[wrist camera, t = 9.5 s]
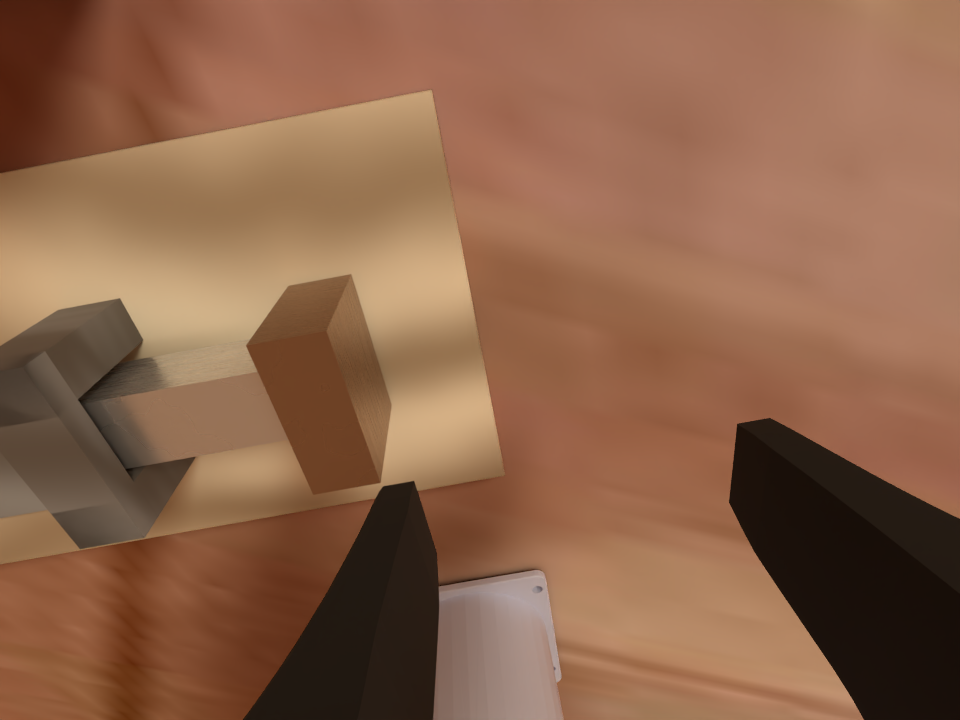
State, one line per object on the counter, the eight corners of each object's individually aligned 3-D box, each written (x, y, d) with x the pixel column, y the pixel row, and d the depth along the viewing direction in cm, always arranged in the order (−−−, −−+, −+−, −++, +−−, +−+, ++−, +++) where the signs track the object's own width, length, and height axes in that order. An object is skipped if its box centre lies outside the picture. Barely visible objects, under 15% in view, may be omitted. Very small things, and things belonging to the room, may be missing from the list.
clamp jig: (502, 459, 22) (519, 564, 17) (-133, 571, 22) (-283, 702, 18) (432, 89, 15) (428, 96, 10) (-488, 267, 15) (-889, 351, 11)
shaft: (391, 404, 18) (380, 482, 15) (148, 448, 18) (80, 536, 15) (351, 274, 16) (326, 331, 12) (70, 326, 16) (-32, 396, 13)
